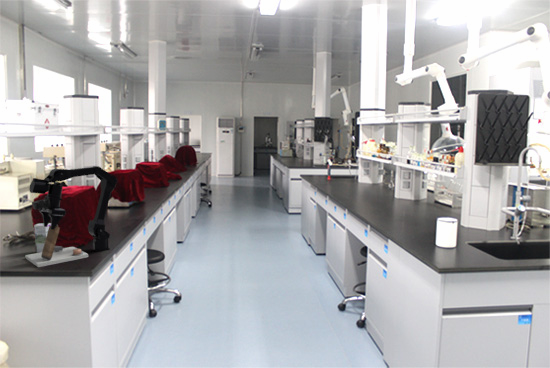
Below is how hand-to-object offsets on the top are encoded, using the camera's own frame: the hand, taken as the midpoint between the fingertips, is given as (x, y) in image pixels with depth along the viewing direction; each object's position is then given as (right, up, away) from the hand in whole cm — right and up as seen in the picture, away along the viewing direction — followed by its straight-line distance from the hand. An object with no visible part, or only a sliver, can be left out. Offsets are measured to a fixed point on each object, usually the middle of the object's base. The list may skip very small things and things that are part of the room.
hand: (48, 228), depth 193 cm
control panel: (+1, -15, +5) cm, 16 cm away
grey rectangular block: (-2, -11, +11) cm, 16 cm away
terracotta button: (+11, -13, +5) cm, 18 cm away
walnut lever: (0, -13, -3) cm, 14 cm away
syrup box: (-11, -14, +16) cm, 24 cm away
